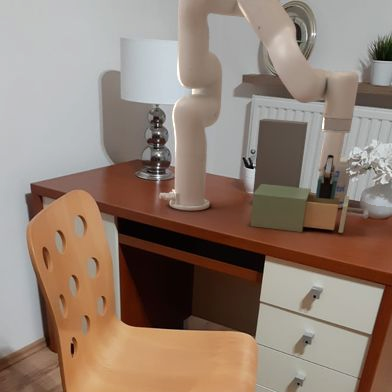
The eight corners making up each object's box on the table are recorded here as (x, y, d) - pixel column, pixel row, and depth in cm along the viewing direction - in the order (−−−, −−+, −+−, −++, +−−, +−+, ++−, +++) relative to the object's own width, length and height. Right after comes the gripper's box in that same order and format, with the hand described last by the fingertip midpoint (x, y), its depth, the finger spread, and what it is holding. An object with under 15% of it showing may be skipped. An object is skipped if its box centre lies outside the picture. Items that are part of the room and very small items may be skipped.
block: (333, 199, 142) (336, 181, 140) (315, 197, 143) (318, 179, 141) (334, 195, 146) (337, 177, 144) (316, 193, 148) (319, 175, 145)
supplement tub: (321, 209, 166) (329, 161, 158) (310, 201, 174) (317, 155, 166) (349, 209, 168) (358, 161, 160) (337, 201, 176) (345, 155, 168)
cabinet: (306, 219, 156) (311, 188, 151) (301, 232, 145) (306, 199, 141) (258, 214, 159) (261, 183, 154) (250, 226, 148) (253, 193, 144)
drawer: (365, 223, 151) (370, 198, 147) (364, 235, 141) (370, 208, 138) (298, 216, 155) (301, 191, 152) (293, 227, 146) (296, 201, 142)
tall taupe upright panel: (297, 205, 170) (308, 121, 157) (293, 209, 165) (304, 124, 152) (257, 199, 174) (264, 118, 161) (251, 203, 169) (258, 120, 156)
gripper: (324, 120, 143) (314, 187, 153) (318, 128, 129) (308, 201, 139) (352, 122, 142) (340, 190, 151) (349, 130, 128) (337, 204, 137)
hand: (325, 195), depth 145 cm, fingers closed on block, 5 cm apart
